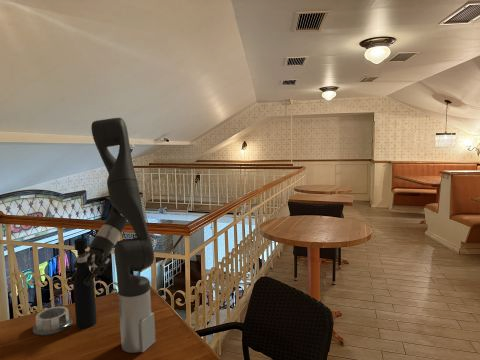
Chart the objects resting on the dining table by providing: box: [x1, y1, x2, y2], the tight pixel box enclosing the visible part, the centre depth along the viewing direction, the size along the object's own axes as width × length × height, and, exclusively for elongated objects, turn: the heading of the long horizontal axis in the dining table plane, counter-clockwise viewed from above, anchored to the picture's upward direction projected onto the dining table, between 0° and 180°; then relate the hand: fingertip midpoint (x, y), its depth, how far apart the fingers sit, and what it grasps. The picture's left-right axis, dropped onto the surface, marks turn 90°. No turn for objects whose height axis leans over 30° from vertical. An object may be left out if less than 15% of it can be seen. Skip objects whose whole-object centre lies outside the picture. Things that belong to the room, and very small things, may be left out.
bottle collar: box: [32, 305, 74, 337], centre depth 114 cm, size 12×12×5 cm
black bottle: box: [73, 237, 98, 330], centre depth 114 cm, size 6×6×30 cm
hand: (79, 283), depth 112 cm, fingers closed on black bottle, 6 cm apart
